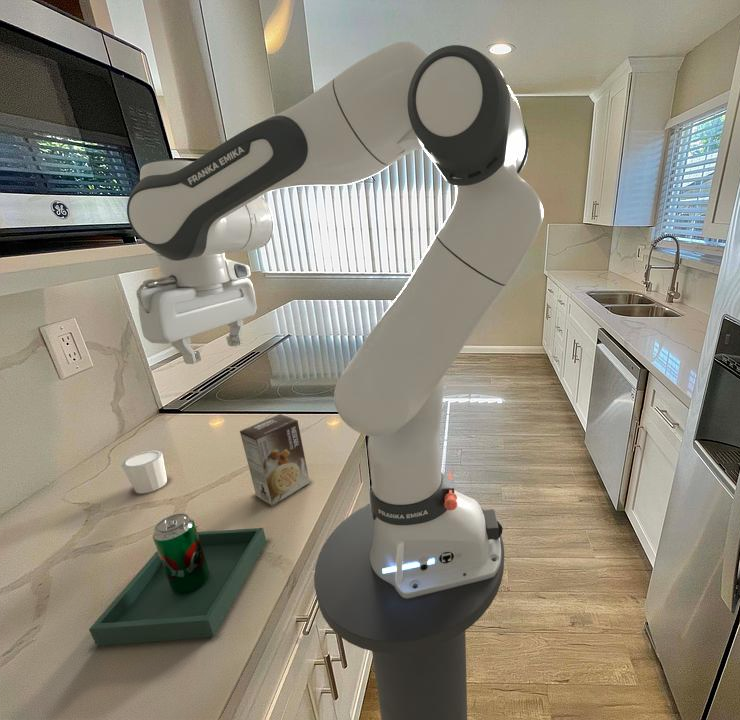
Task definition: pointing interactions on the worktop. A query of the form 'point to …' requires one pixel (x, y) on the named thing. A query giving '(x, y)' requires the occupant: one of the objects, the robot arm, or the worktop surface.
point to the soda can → (181, 553)
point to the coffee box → (275, 458)
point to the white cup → (146, 471)
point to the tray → (181, 611)
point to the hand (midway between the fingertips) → (215, 353)
